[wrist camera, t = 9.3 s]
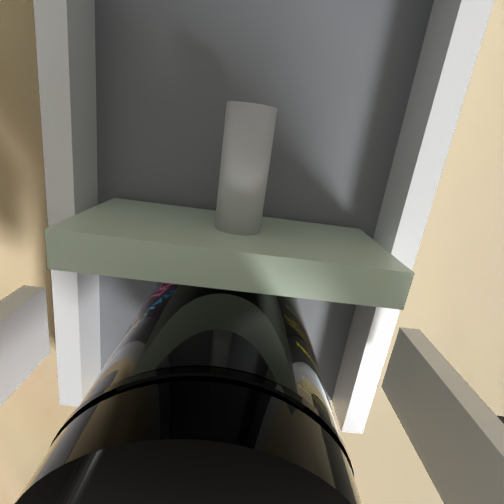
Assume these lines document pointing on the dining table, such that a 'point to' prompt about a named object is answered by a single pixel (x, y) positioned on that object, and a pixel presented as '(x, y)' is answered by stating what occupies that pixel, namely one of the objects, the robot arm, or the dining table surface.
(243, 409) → the supplement container
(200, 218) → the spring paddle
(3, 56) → the dining table surface
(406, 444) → the dining table surface
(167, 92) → the pusher lane
